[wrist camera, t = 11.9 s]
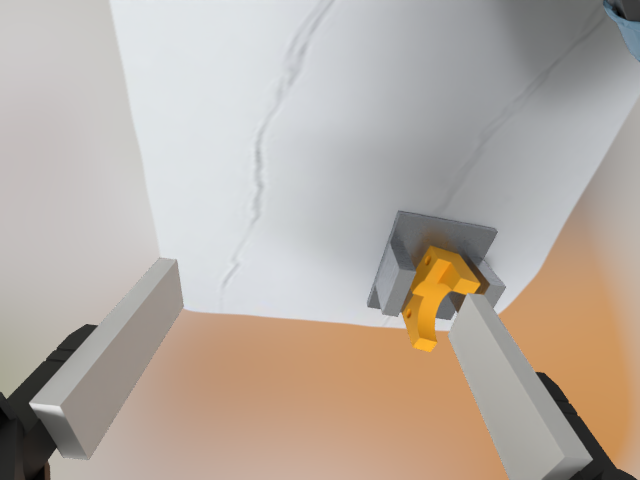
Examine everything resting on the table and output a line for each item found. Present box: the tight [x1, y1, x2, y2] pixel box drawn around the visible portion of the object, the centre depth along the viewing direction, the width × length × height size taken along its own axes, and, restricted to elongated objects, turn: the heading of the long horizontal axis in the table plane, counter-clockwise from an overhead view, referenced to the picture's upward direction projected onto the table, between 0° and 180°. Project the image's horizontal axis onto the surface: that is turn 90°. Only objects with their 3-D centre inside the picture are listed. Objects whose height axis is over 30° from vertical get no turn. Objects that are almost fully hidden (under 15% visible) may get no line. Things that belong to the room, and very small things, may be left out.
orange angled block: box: [402, 245, 481, 352], centre depth 40 cm, size 12×4×6 cm, turn 162°
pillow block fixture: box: [367, 211, 506, 320], centre depth 40 cm, size 16×13×7 cm
